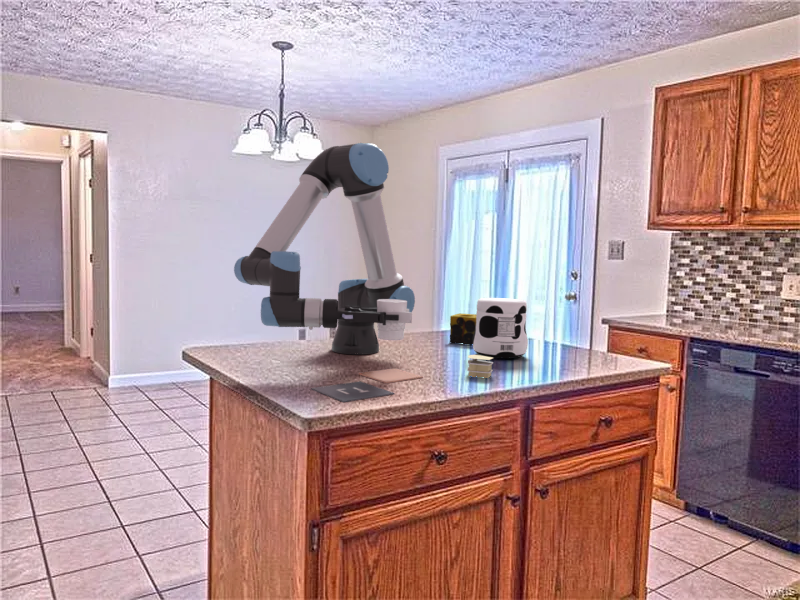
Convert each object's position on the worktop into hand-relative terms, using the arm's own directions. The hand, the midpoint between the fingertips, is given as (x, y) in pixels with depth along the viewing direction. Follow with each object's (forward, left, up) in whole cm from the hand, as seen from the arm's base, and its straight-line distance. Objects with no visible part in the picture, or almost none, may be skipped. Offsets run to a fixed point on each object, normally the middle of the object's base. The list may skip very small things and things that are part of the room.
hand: (410, 315), depth 162 cm
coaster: (-3, -4, -16) cm, 17 cm away
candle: (-34, +54, -16) cm, 66 cm away
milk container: (-9, +44, -16) cm, 48 cm away
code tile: (+6, -22, -16) cm, 28 cm away
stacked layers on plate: (+9, +17, -17) cm, 26 cm away
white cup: (-3, -4, -6) cm, 8 cm away
